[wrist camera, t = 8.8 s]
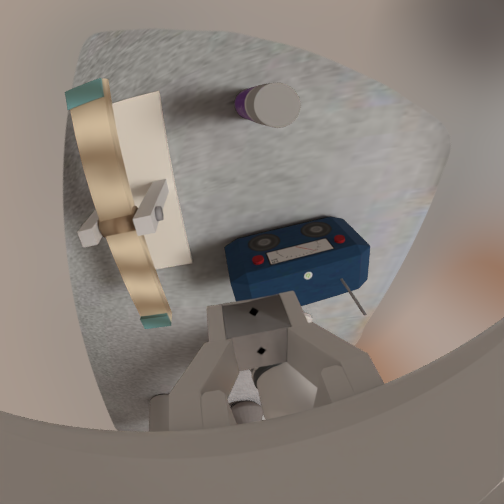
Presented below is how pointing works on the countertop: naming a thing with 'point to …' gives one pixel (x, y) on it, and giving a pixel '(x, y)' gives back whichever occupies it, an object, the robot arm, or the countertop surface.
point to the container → (269, 104)
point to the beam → (115, 198)
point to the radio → (299, 262)
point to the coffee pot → (247, 412)
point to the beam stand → (147, 182)
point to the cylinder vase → (159, 413)
